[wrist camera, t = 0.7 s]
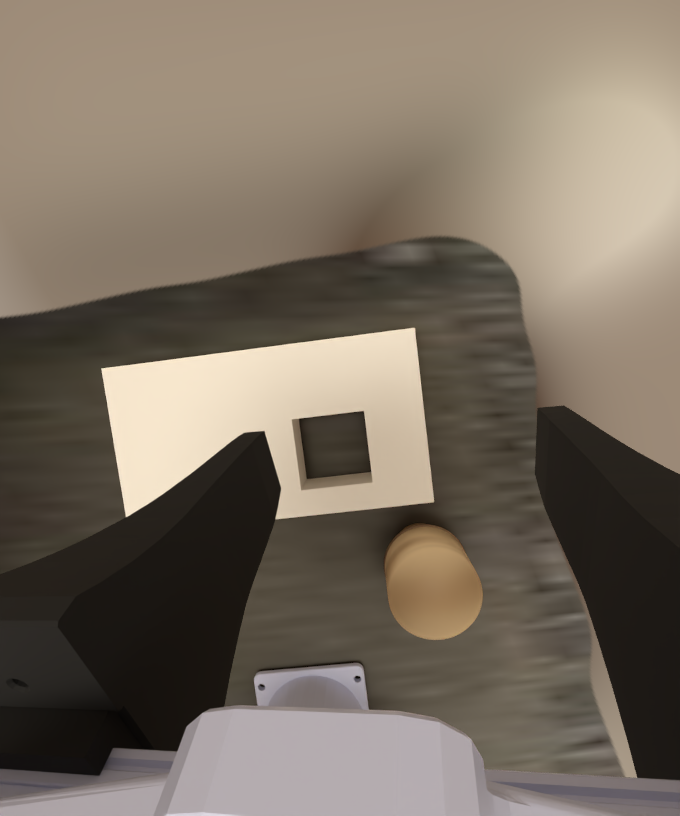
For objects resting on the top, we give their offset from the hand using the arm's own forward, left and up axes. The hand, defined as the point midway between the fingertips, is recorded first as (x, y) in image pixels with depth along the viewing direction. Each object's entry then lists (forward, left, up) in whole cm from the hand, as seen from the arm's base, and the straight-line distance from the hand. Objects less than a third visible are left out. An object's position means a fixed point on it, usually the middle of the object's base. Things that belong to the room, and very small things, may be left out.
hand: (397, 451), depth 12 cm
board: (-1, +7, -19) cm, 21 cm away
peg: (-11, -2, -19) cm, 22 cm away
